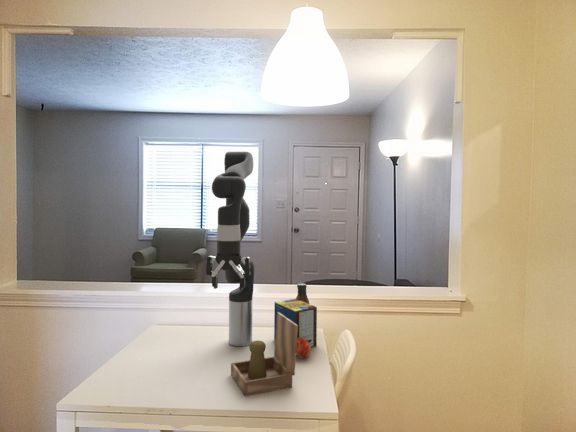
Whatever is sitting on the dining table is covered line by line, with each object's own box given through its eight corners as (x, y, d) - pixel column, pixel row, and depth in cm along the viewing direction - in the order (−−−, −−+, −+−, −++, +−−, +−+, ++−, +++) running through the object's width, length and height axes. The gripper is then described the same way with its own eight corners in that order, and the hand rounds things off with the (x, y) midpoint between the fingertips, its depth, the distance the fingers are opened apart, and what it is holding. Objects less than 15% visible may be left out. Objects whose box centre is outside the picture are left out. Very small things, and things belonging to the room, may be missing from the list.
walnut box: (230, 375, 133) (231, 363, 133) (274, 368, 139) (274, 356, 139) (244, 396, 120) (244, 382, 119) (292, 387, 125) (292, 374, 125)
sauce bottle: (311, 328, 182) (312, 283, 181) (306, 332, 176) (307, 286, 175) (298, 325, 185) (298, 282, 184) (292, 330, 179) (293, 284, 178)
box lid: (276, 312, 139) (279, 312, 139) (273, 357, 139) (276, 357, 139) (295, 325, 125) (298, 325, 125) (291, 375, 125) (294, 375, 126)
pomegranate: (293, 367, 145) (316, 351, 144) (281, 349, 147) (304, 334, 145) (297, 361, 153) (318, 346, 151) (286, 344, 154) (307, 329, 153)
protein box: (294, 334, 173) (295, 298, 172) (316, 346, 160) (317, 306, 159) (273, 339, 167) (273, 301, 166) (294, 351, 154) (295, 310, 154)
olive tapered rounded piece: (264, 380, 128) (264, 345, 127) (245, 378, 129) (245, 344, 128) (268, 372, 134) (269, 339, 133) (250, 370, 135) (251, 337, 134)
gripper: (252, 238, 135) (252, 286, 136) (210, 237, 137) (210, 285, 138) (248, 240, 128) (247, 292, 129) (203, 239, 129) (203, 290, 130)
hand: (228, 288), depth 133 cm, fingers open, 8 cm apart
